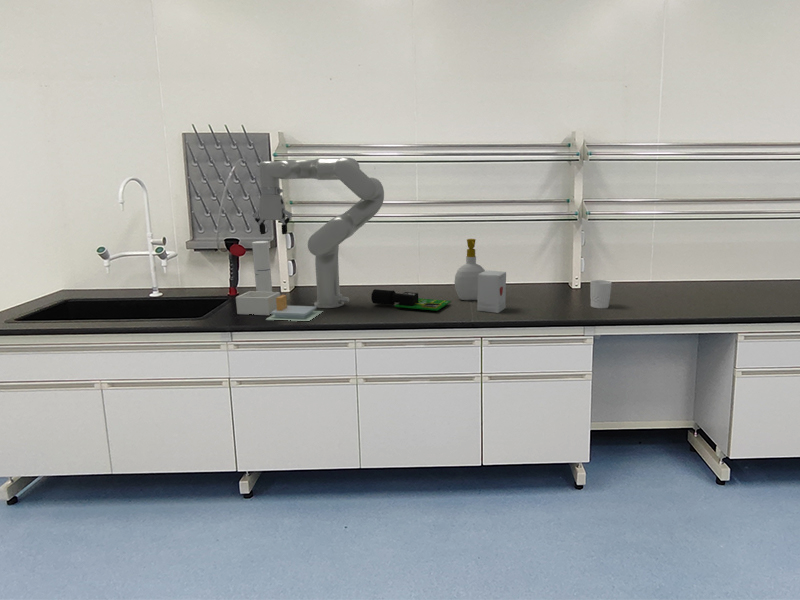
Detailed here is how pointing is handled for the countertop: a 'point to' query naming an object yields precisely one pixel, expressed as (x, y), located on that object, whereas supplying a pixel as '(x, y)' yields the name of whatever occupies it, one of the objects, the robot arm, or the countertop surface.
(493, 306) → the supplement box
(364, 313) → the countertop surface
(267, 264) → the tall grey box
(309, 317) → the mat
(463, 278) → the soap bottle
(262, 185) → the robot arm
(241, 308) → the tub
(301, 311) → the lid
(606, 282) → the white cup
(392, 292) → the electronic board model
